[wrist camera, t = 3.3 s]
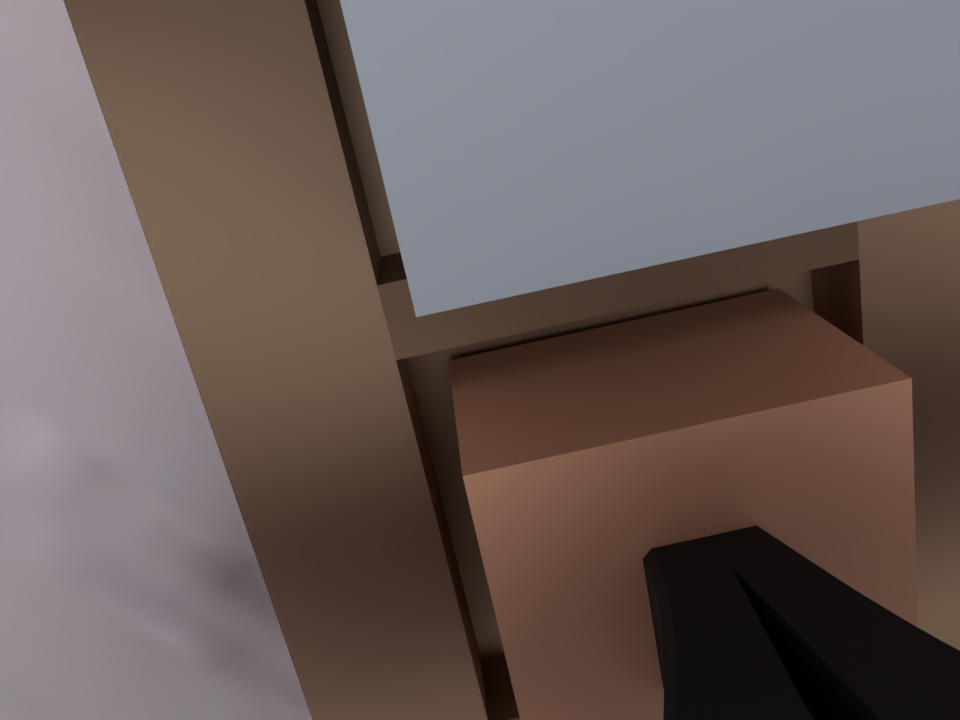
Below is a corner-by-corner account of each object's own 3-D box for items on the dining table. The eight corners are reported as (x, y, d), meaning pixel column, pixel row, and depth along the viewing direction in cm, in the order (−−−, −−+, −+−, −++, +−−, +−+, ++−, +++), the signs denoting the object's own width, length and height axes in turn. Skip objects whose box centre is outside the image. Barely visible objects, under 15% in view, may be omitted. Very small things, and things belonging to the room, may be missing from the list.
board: (962, 930, 19) (1025, 1029, 17) (457, 1041, 19) (462, 1153, 17) (954, -723, 9) (1090, -911, 8) (-46, -506, 9) (-159, -642, 8)
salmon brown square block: (802, 568, 14) (920, 729, 11) (510, 632, 14) (542, 813, 11) (778, 288, 12) (910, 378, 9) (448, 360, 12) (462, 476, 9)
